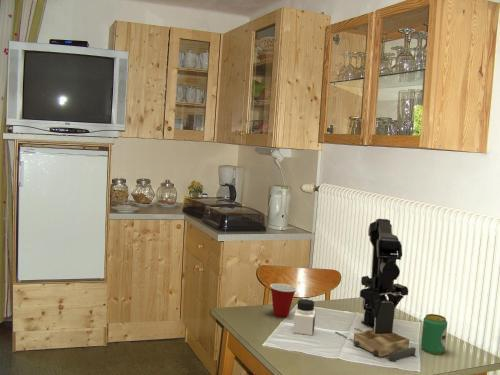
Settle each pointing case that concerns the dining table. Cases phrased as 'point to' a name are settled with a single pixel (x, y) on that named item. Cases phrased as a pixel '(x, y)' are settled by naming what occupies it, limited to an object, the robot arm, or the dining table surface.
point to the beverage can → (434, 334)
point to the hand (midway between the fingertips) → (382, 315)
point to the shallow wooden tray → (380, 342)
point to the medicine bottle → (304, 317)
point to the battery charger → (384, 318)
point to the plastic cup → (282, 298)
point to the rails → (396, 354)
